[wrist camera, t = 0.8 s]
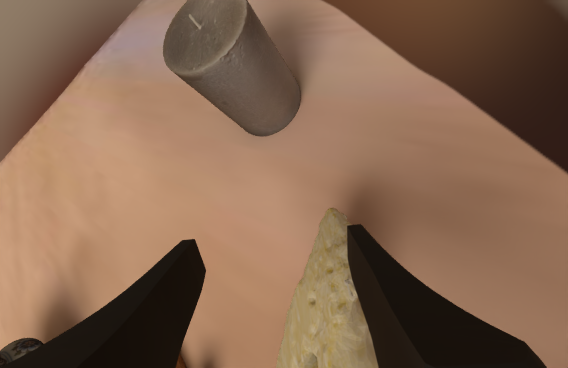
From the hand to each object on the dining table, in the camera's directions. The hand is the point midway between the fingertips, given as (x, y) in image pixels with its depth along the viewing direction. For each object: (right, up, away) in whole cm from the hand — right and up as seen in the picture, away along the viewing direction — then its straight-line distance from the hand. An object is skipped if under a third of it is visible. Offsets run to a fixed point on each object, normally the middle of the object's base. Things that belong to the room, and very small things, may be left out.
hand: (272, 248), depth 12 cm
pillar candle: (-1, +14, +24) cm, 27 cm away
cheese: (+6, -9, +14) cm, 17 cm away
